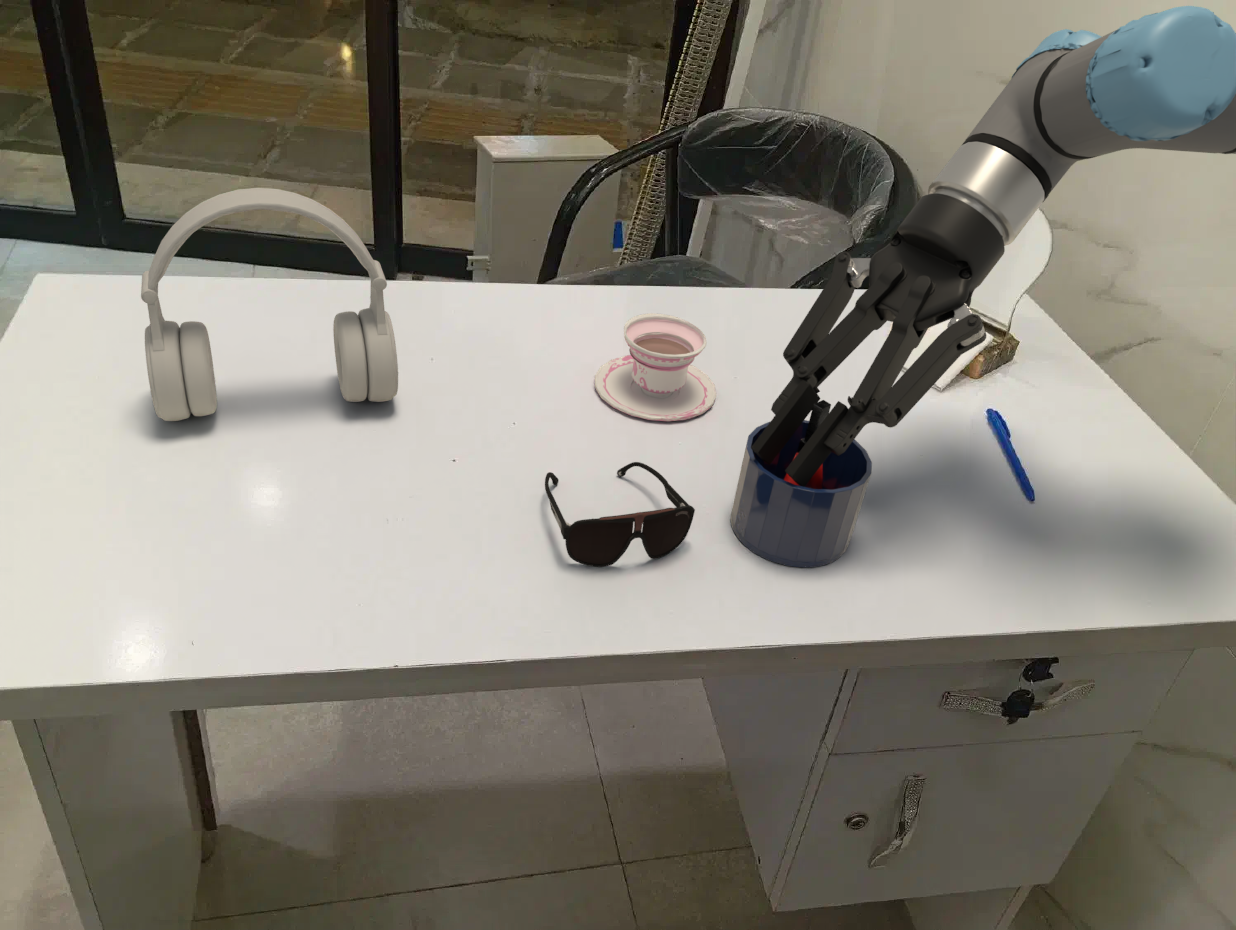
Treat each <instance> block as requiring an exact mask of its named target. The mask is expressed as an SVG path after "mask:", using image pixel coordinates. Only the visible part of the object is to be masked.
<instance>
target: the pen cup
mask: <svg viewBox="0 0 1236 930" xmlns="http://www.w3.org/2000/svg"><path fill="white" fill-rule="evenodd" d="M770 422H771V420H770V421H767V422H765V423H763V424H761V425H758V426H757V427H755V428H754V430H752V431H751V432H750V434H748V436H747V440H746V444H745V449H744V454H743V458H742V462H741V467H740V472H739V476H738V481H737V485H736V489H735V495H734V498H733V503H732V508H731V512H730V526H731V528H732V531H733V533H734V534H735V536H736V538H737V539H738V540H739V541H740V542H741V544H743V545H744V546H745V547H746V548H747V549H748V550H749V551H751V552H753V553H754V554H755V555H757V556H759V557H761V558H763V559H765V560H767V561H770V562H772V563H775V564H779V565H783V566H787V567H792V568H817V567H821V566H825V565H829V564H831V563H834V562H835V561H837V560H838V559H840V558H841V557H842V556H843V555H844V554H845V553H846V551H847V549H848V547H849V544H850V542H851V540H852V537H853V533H854V530H855V527H856V523H857V521H858V518H859V514H860V512H861V508H862V505H863V502H864V499H865V495H866V493H867V489H868V486H869V482H870V480H871V476H872V473H873V471H872V469H873V462H872V460H871V459H872V458H871V457H870V455H869V453H868V451H867V450H866V449H865V447H863V446H862V445H861V443H860V442H858V441H857V440H856V438H855V439H854V440H853V441H852V443H851V444H850V445H849V447H848V448H847V449H846V451H845V452H844V453H842V454H841V455H839V456H838V455H836V454H834V453H833V452H831V453H830V454H829V456H828V457H827V458H826V460H825V461H824V462H823V471H822V489H812V488H807V487H803V486H798V485H794V484H792V483H790V482H787V481H785V480H784V478H785V476H786V474H787V473H786V472H785V470H786V469H787V468H788V466H789V465H790V464H791V462H792V461H793V459H794V457H795V454H796V453H797V451H798V447H799V443H800V440H802V439H804V438H805V435H806V432H807V428H808V424H809V420H806V419H805V420H804V421H803V422H802V423H801V425H800V426H799V427H798V429H797V430H796V431H795V433H794V434H793V435H792V437H791V438H790V439H789V441H788V442H787V443H786V445H785V446H784V447H783V448H782V450H781V451H780V452H779V454H778V455H777V456H776V458H775V459H774V460H773V462H772V463H771V464H770V465H769V464H767V463H766V462H764V461H763V460H762V459H761V458H760V457H759V456H758V455H757V454H756V453H755V452H754V451H753V450H752V449H751V447H752V445H753V444H754V443H755V442H756V440H757V439H758V438H759V436H760V435H761V434H762V432H763V431H764V430H765V428H766V427H767V426H768V424H769V423H770Z"/></svg>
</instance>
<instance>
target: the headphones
mask: <svg viewBox="0 0 1236 930" xmlns="http://www.w3.org/2000/svg"><path fill="white" fill-rule="evenodd" d="M258 210H261V211H262V210H264V211H276V212H285V213H291V214H295V215H300V216H302V217H305V218H307V219H310V220H311V221H313V222H316V223H318V224H320V225H322V226H324V227H325V228H327V229H328V230H329V231H331V232H332V233H333V234H334V235H335V236H336V237H337V238H338V239H340V240H341V242H343V243H344V245H346V246H347V248H349V250H350V251H351V252H352V254H353V255H354V256H355V258H356V259H357V260H358V262H359V263H360V264H361V266H362V267H363V268H364V269H365V270H366V271H367V273H368V276H369V279H370V301H369V302H370V303H369V307H367V308H363V309H359V311H358V313H356V312H355V311H342V312H338V313H336V315H335V316H334V317H333V318H334V319H333V324H332V325H333V328H332V330H333V332H332V333H333V346H334V356H335V357H334V358H335V364H336V373H337V380H338V384H339V389H340V393H341V396H342V397H343V399H344V400H345V401H346V402H351V403H357V402H358V403H360V402H364V401H366V399H367V400H368V401H369V402H375V403H382V402H389V401H392V400H393V399H394V397H396V396H397V394H398V390H399V364H398V353H397V346H396V337H395V332H394V331H395V330H394V328H393V326H394V325H393V322H392V319H391V317H390V314H389V312H388V311H386V310H385V301H384V290H385V289H386V288H387V286H388V282H387V280H386V276H385V273H384V271H383V268H382V266H381V265H382V264H381V263H380V261H378V260H376V259H373V257H372V255H371V254H370V252H369V250H368V248H367V246H366V245H365V244H364V242H363V241H362V239H361V238H360V236H359V235H358V233H357V232H356V231H355V230H354V229H353V228H352V227H351V226H350V225H349V224H348V223H347V222H346V220H345V219H343V218H342V217H341V216H340V215H338V214H337V213H335V212H334V211H333V209H331V208H329V207H328V206H325V205H323V204H321V203H320V202H318V201H317V200H314V199H313V198H310V197H308V196H305V195H303V194H299V193H297V192H293V191H288V190H284V189H280V188H271V187H270V188H269V187H251V188H240V189H235V190H231V191H227V192H223V193H219V194H217V195H214V196H212V197H210V198H208V199H205V200H204V201H202V202H199V203H198V204H196V205H195V206H194V207H192V208H190V209H189V210H188V211H186V212H185V213H184V214H183V215H182V216H180V218H179V219H178V220H177V221H175V223H174V224H173V225H172V226H171V227H170V229H169V230H168V231H167V232H166V234H165V236H164V237H163V238H162V239H161V241H160V243H159V245H158V247H157V250H156V252H155V254H154V256H153V259H152V261H151V264H150V267H149V269H148V270H145V271H144V272H143V273H142V274H141V287H140V289H141V290H140V300H142V302H144V304H146V305H147V311H148V318H149V325H148V326H146V327H145V329H144V351H145V363H146V370H147V377H148V383H149V384H148V385H149V390H150V395H151V399H152V400H151V401H152V404H153V408H154V411H155V414H156V416H157V418H159V419H162V420H163V422H178V421H183V420H186V419H189V418H190V417H191V414H192V415H193V416H194V417H205V416H209V415H214V413H215V412H216V411H217V407H218V398H217V396H218V395H217V386H216V377H215V369H214V362H213V355H212V348H211V347H212V346H211V341H210V336H209V331H208V329H207V327H206V324H204V322H201V321H191V320H190V321H183V322H181V324H180V325H179V323H178V322H177V321H174V320H165V318H164V316H163V312H162V308H161V303H160V298H159V283H160V281H161V280H162V279H163V278H164V275H165V274H166V272H167V270H168V268H169V267H170V264H171V262H172V260H173V258H174V257H175V255H176V254H177V253H178V251H179V250H180V249H181V247H182V246H183V245H184V243H186V241H187V240H188V239H189V238H190V237H191V236H192V235H193V234H194V233H195V232H196V231H199V229H201V228H202V227H204V226H206V225H208V224H209V223H211V222H214V221H215V220H217V219H220V218H222V217H225V216H230V215H232V214H233V215H234V214H239V213H243V212H244V213H245V212H249V211H258Z"/></svg>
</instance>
